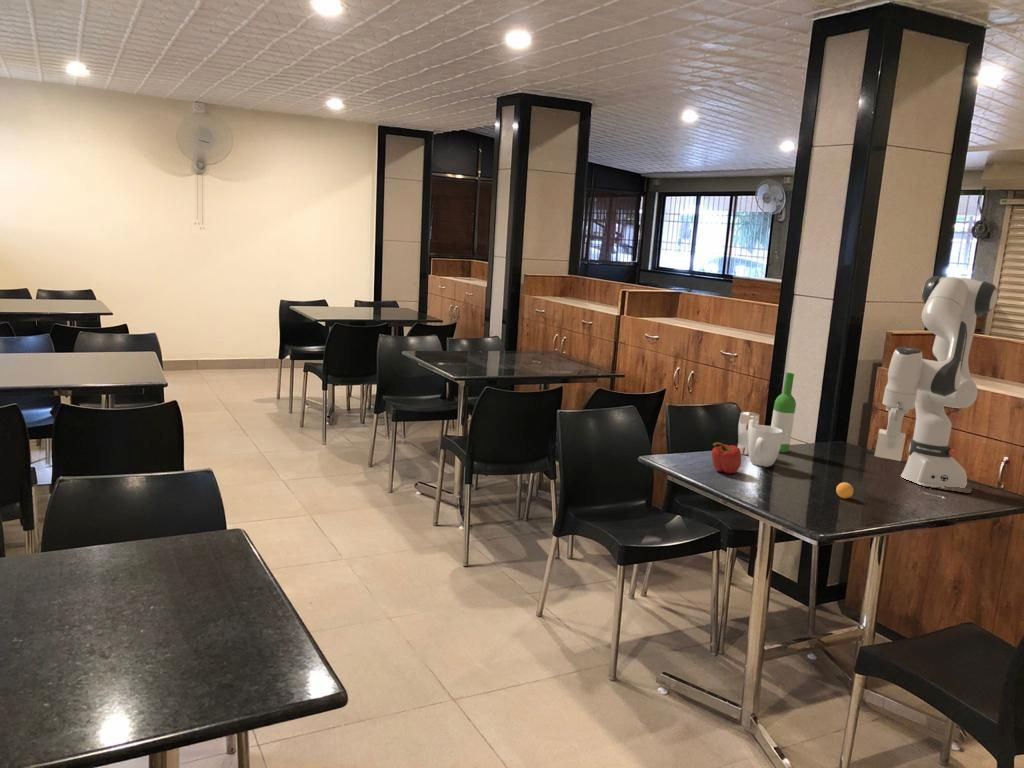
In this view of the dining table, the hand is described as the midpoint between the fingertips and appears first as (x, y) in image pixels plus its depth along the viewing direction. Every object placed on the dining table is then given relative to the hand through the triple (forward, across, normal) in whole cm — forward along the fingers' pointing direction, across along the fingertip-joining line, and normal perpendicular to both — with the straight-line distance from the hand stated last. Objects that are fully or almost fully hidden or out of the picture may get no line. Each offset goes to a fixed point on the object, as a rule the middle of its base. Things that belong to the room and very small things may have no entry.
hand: (890, 445), depth 250 cm
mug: (+20, +21, +40) cm, 49 cm away
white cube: (+4, 0, 0) cm, 4 cm away
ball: (+17, 0, +10) cm, 20 cm away
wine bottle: (+20, +49, +38) cm, 65 cm away
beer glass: (+20, +34, +48) cm, 62 cm away
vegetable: (+20, +2, +48) cm, 52 cm away
